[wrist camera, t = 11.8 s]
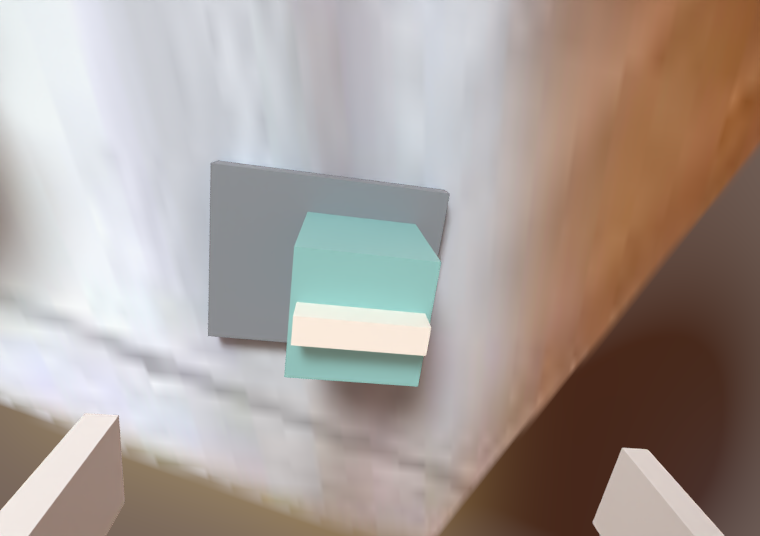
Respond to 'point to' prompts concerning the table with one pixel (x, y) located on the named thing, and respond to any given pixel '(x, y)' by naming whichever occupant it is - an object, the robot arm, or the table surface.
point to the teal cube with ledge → (360, 301)
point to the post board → (288, 236)
